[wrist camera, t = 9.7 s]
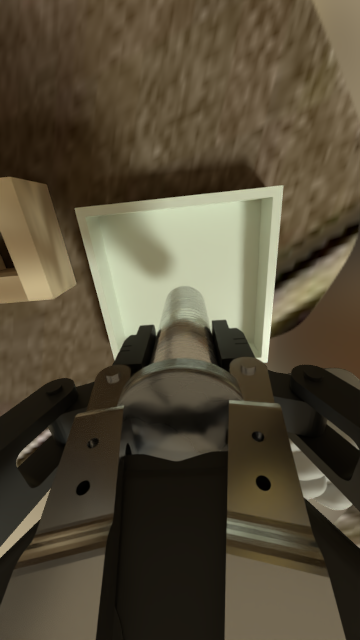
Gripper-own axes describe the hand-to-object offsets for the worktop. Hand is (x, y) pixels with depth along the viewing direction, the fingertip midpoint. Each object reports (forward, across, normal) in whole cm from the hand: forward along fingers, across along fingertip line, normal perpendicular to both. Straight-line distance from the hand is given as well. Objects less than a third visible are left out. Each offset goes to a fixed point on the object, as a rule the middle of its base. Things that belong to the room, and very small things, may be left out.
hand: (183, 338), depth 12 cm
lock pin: (+5, 0, 0) cm, 5 cm away
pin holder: (+9, +14, -5) cm, 18 cm away
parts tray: (+10, 0, 0) cm, 10 cm away
